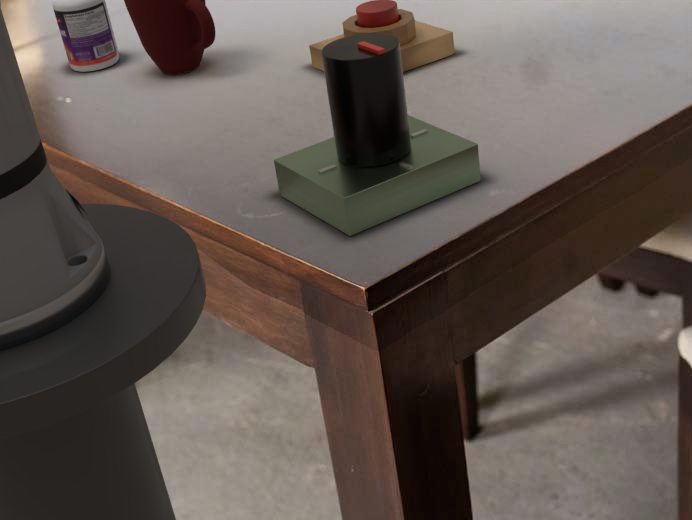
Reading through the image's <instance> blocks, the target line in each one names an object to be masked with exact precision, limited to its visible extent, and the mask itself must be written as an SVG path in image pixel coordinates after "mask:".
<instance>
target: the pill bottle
mask: <svg viewBox="0 0 692 520" xmlns="http://www.w3.org/2000/svg"><path fill="white" fill-rule="evenodd" d="M51 4H52V9H53V13H54V16H55V19H56V23H57V26H58V31H59V33H60V36H61V37H60V38H61V40H62V44H63V47H64V50H65V55H66V57H67V61H68V63H69V66H70V69H72V70H73V71H75V72H79V73H80V72H82V73H83V72H84V73H87V72H93V71H99V70H103V69H107V68H109V67H111V66H114V65H115V64H116V63H117V62H118V61H119V60H120V53H119V49H118V45H117V41H116V38H115V33H114V30H113V26H112V22H111V18H110V15H109V10H108V7H107V3H106V0H52V3H51Z"/></svg>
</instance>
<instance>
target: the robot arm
mask: <svg viewBox="0 0 692 520" xmlns="http://www.w3.org/2000/svg"><path fill="white" fill-rule="evenodd" d="M4 17H5V16H4V14H3V11H2V3H1V1H0V351H1V350H4V349H8V348H11V347H14V346H18V345H20V344H23V343H26V342H29V341H31V340H34V339H36V338H39V337H41V336H43V335H45V334H47V333H50V332H52V331H54V330H55V329H57V328H59V327H61V326H63V325H65V324H66V323H68V322H69V321H71V320H73V319H74V318H76V317H77V316H78V315H80V314H81V313H82V312H84V311H85V310H86V309H87V308H88V307H90V306H91V305H92V304H93V303H94V302H95V301H96V300H97V299H98V297H99V296H100V295H101V294H102V292H103V291H104V289H105V288H106V286H107V283H108V281H109V277H110V266H109V263H108V260H107V256H106V253H105V250H104V246H103V243H102V240H101V238H100V237H99V235H98V234H97V233H96V232H95V230H94V229H93V227H92V226H91V225H90V223H89V222H88V220H87V219H86V218H85V216H84V215H83V213H82V212H81V211H80V209H79V208H78V206H79V207H80V208H81V209H82V210H83V211H84V212H85V210H84V209H83V207H82V206H81V205H80V204H81V203H80V202H79V200H78V198H76V197H75V196H74V195H73V194H71V193H70V191H68V190H67V189H66V188H65V187H64V186H63V184H62V182H61V181H60V180H59V178H58V177H57V175H56V174H55V173H54V172H53V170H52V168H51V166H50V163H49V161H48V157H47V155H46V152H45V148H44V145H43V143H42V139H41V135H40V132H39V129H38V125H37V121H36V118H35V115H34V112H33V109H32V105H31V102H30V99H29V95H28V92H27V89H26V85H25V83H24V80H23V77H22V76H23V75H22V73H21V70H20V66H19V63H18V59H17V56H16V53H15V49H14V47H13V43H12V40H11V36H10V33H9V30H8V27H7V24H6V23H7V22H6V20H5V18H4ZM85 213H86V212H85ZM86 214H87V213H86ZM87 215H88V214H87Z"/></svg>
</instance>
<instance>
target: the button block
mask: <svg viewBox="0 0 692 520" xmlns="http://www.w3.org/2000/svg"><path fill="white" fill-rule="evenodd" d="M398 16H399V21H398V22H397V23H394V24H391V25H388V26H384V27H377V28H362V27H359V26H358V22H357V15H356V14H354V15H351V16H350V17H348V18H346V19H345V20H343V22H342V23H341V24H342V31H343V33H342V34H339V35H336V36H333V37H330V38H327V39H324V40H321V41H318V42H315V43H312V44H309V46H308V47H309V54H310V60H311V66H312V68H314V69H317V70H319V71H322V72H324V66H323V59H322V49H323V48H324V47H325V46H326V45H327V44H329V43H331V42H333V41H335V40H337V39H340V38H344V37H347V36H352V35H358V34H367V33H381V34H388V35H392V36H395V37H396V38H398V40H399V42H400V51H401V60H402V69H403V73H406V72H408V71H411V70H414V69H416V68H419V67H423V66H425V65H428V64H430V63H433V62H436V61H438V60H441V59H444V58H447V57H450V56H454V55H455V53H456V52H455V43H454V42H455V41H454V31H452V30H449V29H445V28H442V27H439V26H435V25H432V24H428V23H425V22H423V21H419V20H416V19H415V16H414V13H413V12H412V11H410V10H406V9H402V8H398Z"/></svg>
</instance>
